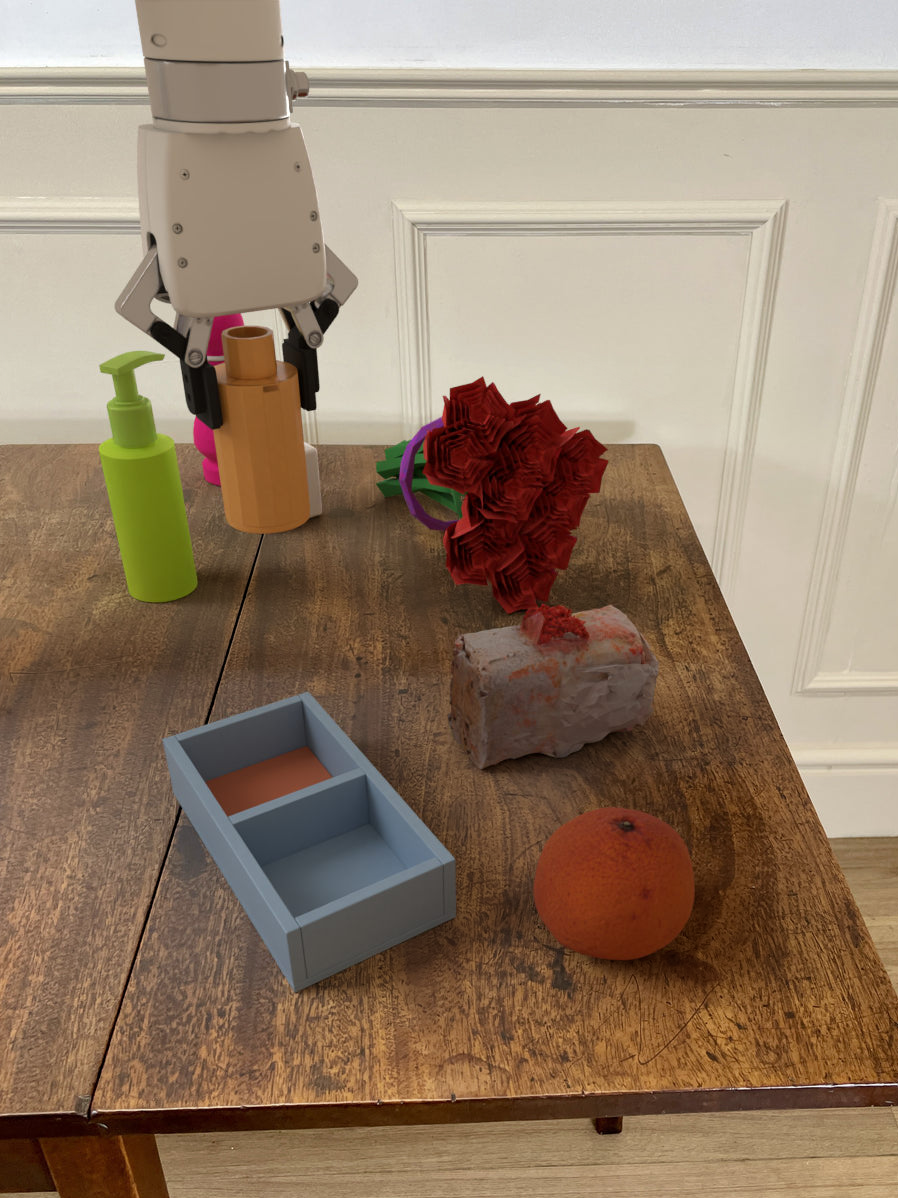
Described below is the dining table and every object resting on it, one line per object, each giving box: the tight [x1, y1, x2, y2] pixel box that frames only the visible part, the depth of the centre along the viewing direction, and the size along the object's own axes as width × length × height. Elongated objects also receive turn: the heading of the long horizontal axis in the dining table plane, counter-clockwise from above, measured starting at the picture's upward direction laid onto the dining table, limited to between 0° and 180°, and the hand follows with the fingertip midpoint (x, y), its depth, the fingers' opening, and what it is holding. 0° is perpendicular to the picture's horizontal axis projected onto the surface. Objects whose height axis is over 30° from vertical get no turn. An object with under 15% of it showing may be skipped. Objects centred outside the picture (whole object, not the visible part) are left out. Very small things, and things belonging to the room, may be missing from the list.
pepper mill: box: [192, 313, 245, 487], centre depth 107 cm, size 7×7×20 cm
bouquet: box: [375, 375, 609, 615], centre depth 97 cm, size 20×16×30 cm
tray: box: [161, 691, 457, 993], centre depth 63 cm, size 10×19×5 cm, turn 34°
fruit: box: [532, 806, 696, 961], centre depth 58 cm, size 9×9×8 cm
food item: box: [447, 603, 660, 770], centre depth 72 cm, size 14×8×10 cm, turn 115°
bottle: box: [213, 325, 310, 535], centre depth 68 cm, size 6×6×12 cm
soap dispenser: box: [98, 350, 199, 603], centre depth 87 cm, size 6×7×20 cm
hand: (256, 411), depth 68 cm, fingers closed on bottle, 5 cm apart
